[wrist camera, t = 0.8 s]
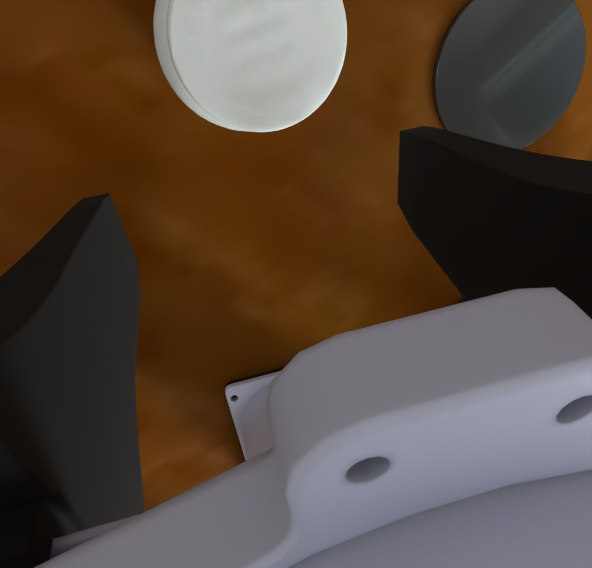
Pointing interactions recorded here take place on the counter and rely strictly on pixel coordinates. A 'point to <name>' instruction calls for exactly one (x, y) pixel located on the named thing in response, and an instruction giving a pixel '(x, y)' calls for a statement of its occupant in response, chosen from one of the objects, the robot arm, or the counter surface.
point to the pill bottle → (251, 58)
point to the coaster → (509, 69)
